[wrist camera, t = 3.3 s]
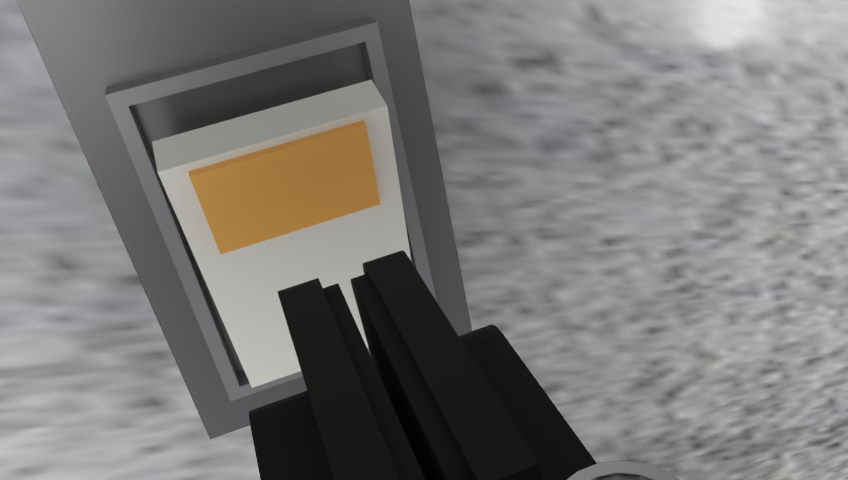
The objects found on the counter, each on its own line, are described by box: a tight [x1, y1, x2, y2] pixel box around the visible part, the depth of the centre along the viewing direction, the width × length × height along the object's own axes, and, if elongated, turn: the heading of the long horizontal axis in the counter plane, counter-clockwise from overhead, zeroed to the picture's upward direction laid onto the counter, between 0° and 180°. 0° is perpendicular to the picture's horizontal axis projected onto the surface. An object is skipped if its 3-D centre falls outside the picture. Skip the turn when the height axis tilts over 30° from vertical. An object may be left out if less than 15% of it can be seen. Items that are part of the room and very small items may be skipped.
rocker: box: [152, 79, 412, 388], centre depth 20 cm, size 8×5×1 cm, turn 11°
